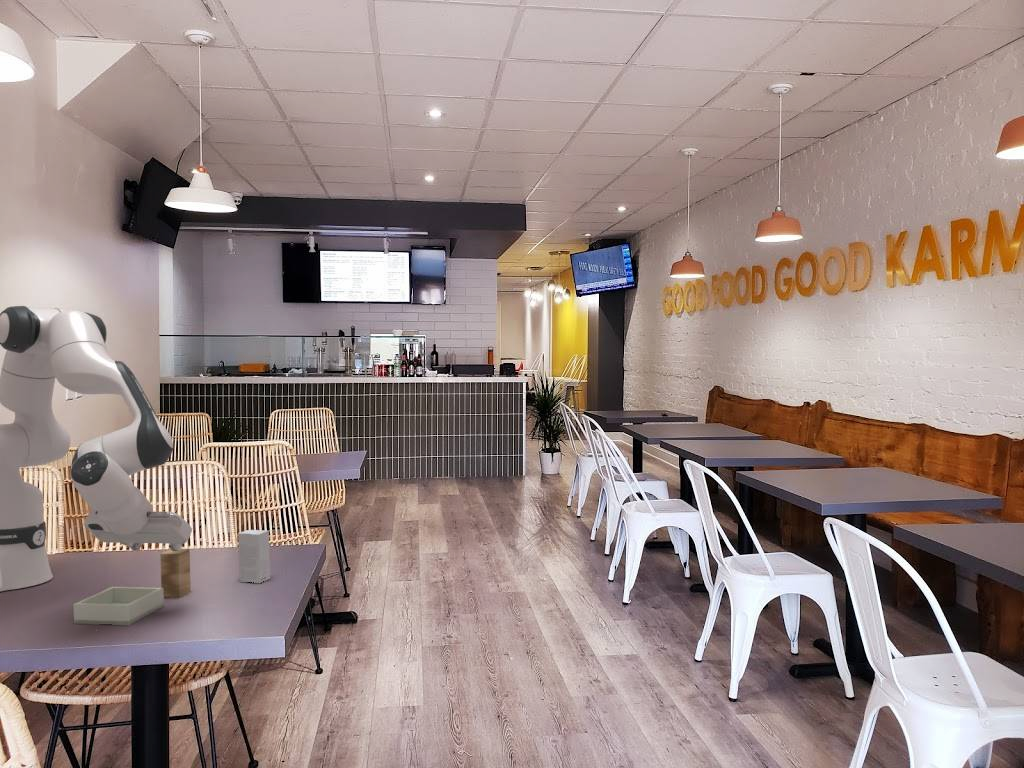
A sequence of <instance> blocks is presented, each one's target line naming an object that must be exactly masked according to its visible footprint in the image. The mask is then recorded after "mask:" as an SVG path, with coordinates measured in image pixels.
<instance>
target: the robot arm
mask: <svg viewBox="0 0 1024 768" xmlns="http://www.w3.org/2000/svg"><path fill="white" fill-rule="evenodd" d="M106 342H107V327H106V324H105V322H104V321H103V319H102V318H101V317H99V316H98V315H95V314H93V313H89V312H85V311H81V310H76V309H65V308H58V307H54V308H51V307H35V306H34V307H31V306H30V307H27V306H25V305H16V306H8V307H6V308H5V309H4V310H2V311H1V312H0V347H2V348H3V349H4V350H6V351H5V355H4V357H3V361H2V367H1V370H0V371H1V372H0V404H1V406H2V407H3V408H5V409H7V410H9V411H10V412H13V413H14V421H13V422H12V423H5V424H4V423H3V424H1V423H0V592H5V591H10V590H19V589H23V588H29V587H33V586H36V585H41V584H43V583H46V582H48V581H50V580H52V579H53V578H54V575H53V573H52V569H51V567H50V566H51V565H50V562H49V557H48V553H47V548H46V538H47V526H46V521H45V520H44V495H43V492H42V490H41V489H40V488H39V487H38V486H36V485H34V484H32V483H29V482H26V481H25V480H24V479H23V477H22V475H21V472H20V469H21V468H29V467H36V466H44V465H47V464H50V463H55V462H56V461H59V460H63V458H64V457H66V455H67V453H68V452H69V450H70V447H71V436H70V433H69V431H68V430H67V428H65V426H64V425H62V424H61V423H60V422H59V421H58V420H57V419H56V416H55V414H54V411H53V396H54V395H53V393H54V389H55V383H56V381H57V382H58V383H59V384H60V385H61V386H62V387H63V388H65V389H66V390H69V391H71V392H73V393H78V394H82V395H105V394H107V395H118V396H121V397H122V398H123V401H124V403H125V405H126V406H127V408H128V410H129V412H130V414H131V416H132V417H133V421H132V423H130V424H129V425H128V426H126V427H124V428H120V429H118V430H115V431H112V432H110V433H107V434H103V435H100V436H97V437H94V438H92V439H90V440H87V441H85V442H83V443H80V444H79V445H78V446H77V448H76V450H75V451H74V455H73V457H72V459H71V465H70V472H69V473H70V475H69V476H70V479H71V481H72V483H73V486H74V487H75V490H76V491H77V492H78V494H79V495H80V497H81V498H82V499H83V501H85V503H86V504H87V506H89V508H90V509H89V510H90V511H89V512H88V513H87V516H86V518H85V520H84V522H83V526H84V527H85V528H86V529H87V530H89V532H90V533H91V534H92V535H93V536H94V537H95V539H97V540H98V541H100V542H103V543H115V544H116V543H117V544H119V543H120V544H121V545H123V546H125V547H127V548H130V550H131V551H140V550H141V548H142V546H143V544H170V545H169V550H170V549H171V550H172V551H180V549H182V545H183V544H186V543H187V542H188V540H189V539H190V537H191V534H192V532H193V528H192V526H191V525H190V524H189V523H188V522H187V521H186V520H185V519H184V518H183V517H182V516H181V515H179V514H178V513H176V512H173V511H154V508H153V506H152V503H151V502H150V501H149V500H148V499H147V497H146V496H145V494H144V493H143V492H142V491H141V490H140V488H138V487H137V486H135V485H134V482H133V480H132V479H131V477H130V476H132V475H134V474H136V473H140V472H142V471H144V470H149V469H153V468H157V467H160V466H163V465H165V464H166V463H167V462H168V460H169V459H170V457H171V456H172V453H173V452H174V448H175V447H174V443H173V442H174V441H173V439H172V437H171V434H170V433H169V431H168V429H167V428H166V427H165V425H164V424H163V423H162V422H161V420H160V418H159V417H158V415H157V414H156V412H155V410H154V408H153V406H152V404H151V402H150V400H149V399H148V397H147V395H146V393H145V391H144V389H143V388H142V386H141V384H140V383H139V380H138V379H137V377H136V376H135V374H134V373H133V371H132V370H131V369H130V368H129V366H127V364H125V362H123V361H121V360H114V359H113V358H112V357H111V356H110V354H109V353H108V349H107V346H106Z"/></svg>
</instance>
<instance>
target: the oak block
mask: <svg viewBox="0 0 1024 768" xmlns="http://www.w3.org/2000/svg"><path fill="white" fill-rule="evenodd" d="M190 551H191V550H190V548H181V549H180V551H172V550H171V549H170V548H169V549H167V550H166V551H163V552H161V553H160V582H161V584H160V585H161V587H160V588H163V597H164V598H165V597H166V598H168V597H170V599H171V597H173V598H172V599H174V598H175V599H180V597H181V598H183V597H185V596H186V595H188V594H189V592H190V593H191V591H192V590H191V587H192V586H191V555H190ZM187 593H188V594H187ZM176 597H177V598H176ZM168 599H169V598H168Z"/></svg>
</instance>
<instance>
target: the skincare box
mask: <svg viewBox="0 0 1024 768" xmlns="http://www.w3.org/2000/svg"><path fill="white" fill-rule="evenodd" d="M269 532H270V531H269V530H263V529H262V530H260V529H247V530H244V531H240V532H238V533H237V537H238V538H237V539H238V569H239V570H238V571H239V572H238V573H239V574H238V575H239V578H238V579H239V582H240V583H247V582H252V583H251V584H261V582H262V583H264V582H266V581H269V580H270V579H271V562H270V558H271V557H270V536H269V535H270V534H269ZM268 579H269V580H268ZM263 581H264V582H263ZM253 582H254V583H253Z"/></svg>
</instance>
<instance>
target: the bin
mask: <svg viewBox="0 0 1024 768" xmlns="http://www.w3.org/2000/svg"><path fill="white" fill-rule="evenodd" d="M164 602H165V601H164V597H163V588H161V587H143V586H140V587H139V586H135V587H134V586H110V587H109V588H107V589H104V590H102V591H100V592H97V593H94V594H93V595H91V596H88V597H86V598H84V599H82V600H80V601H78V602H75V603H73V624H76V625H99V624H112V625H111V626H130V625H132V624H134V623H136V622H138V621H140V620H141V619H143V618H145V617H147V616H148V615H150V614H152V613H154V612H156V611H157V610H159V609H161V608H163V607H165V605H164V604H165V603H164Z"/></svg>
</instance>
